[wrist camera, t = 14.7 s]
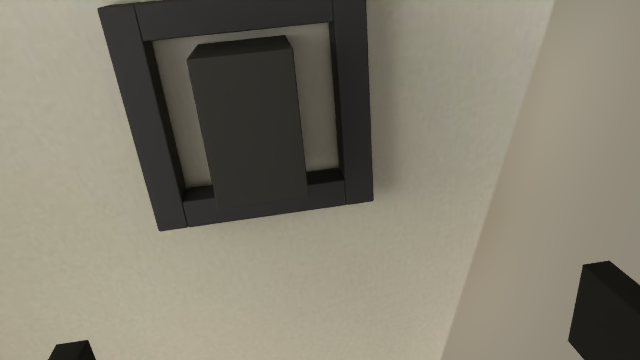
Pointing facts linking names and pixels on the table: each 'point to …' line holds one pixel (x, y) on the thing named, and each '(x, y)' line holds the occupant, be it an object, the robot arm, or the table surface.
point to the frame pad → (223, 17)
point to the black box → (250, 120)
